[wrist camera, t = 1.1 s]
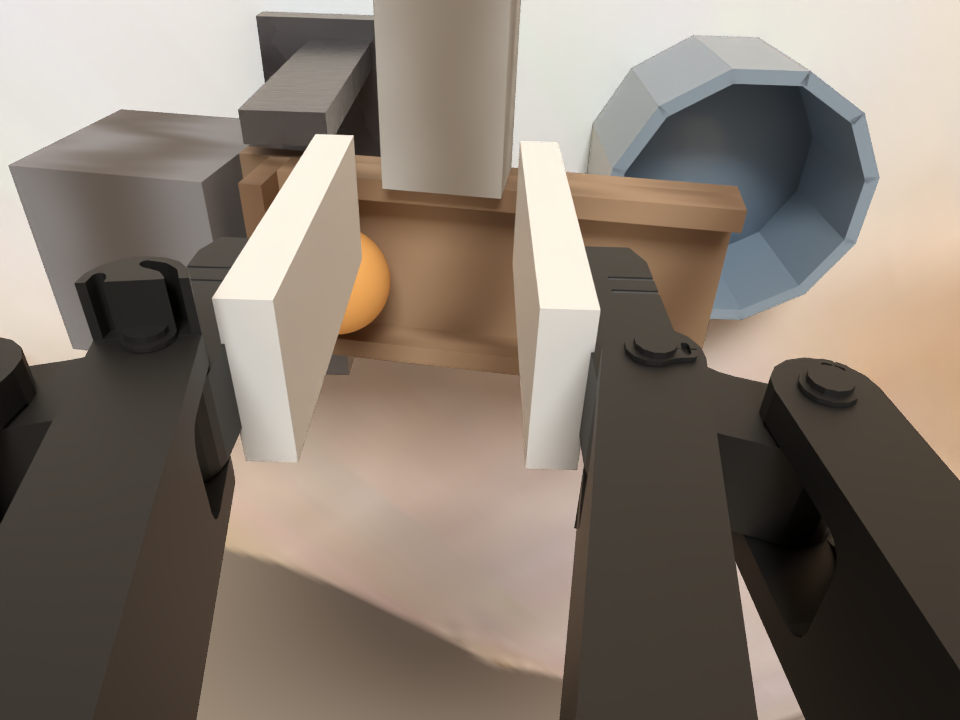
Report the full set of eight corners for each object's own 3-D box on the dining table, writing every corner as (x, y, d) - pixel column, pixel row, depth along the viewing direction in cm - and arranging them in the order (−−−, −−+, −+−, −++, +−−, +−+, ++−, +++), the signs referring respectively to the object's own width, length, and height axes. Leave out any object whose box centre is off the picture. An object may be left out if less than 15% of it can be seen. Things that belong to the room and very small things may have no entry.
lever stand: (293, 251, 43) (225, 387, 32) (262, 11, 35) (159, 79, 24) (427, 255, 43) (407, 393, 32) (425, 17, 35) (396, 88, 24)
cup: (577, 254, 43) (591, 315, 37) (603, 32, 36) (626, 64, 30) (781, 260, 43) (827, 322, 37) (847, 40, 36) (916, 74, 30)
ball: (308, 295, 30) (270, 348, 26) (297, 203, 27) (253, 249, 24) (403, 306, 29) (376, 361, 26) (400, 213, 27) (369, 261, 24)
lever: (161, 269, 35) (72, 348, 29) (77, -66, 27) (-67, -48, 21) (687, 322, 32) (703, 421, 26) (768, -31, 24) (817, 1, 18)
